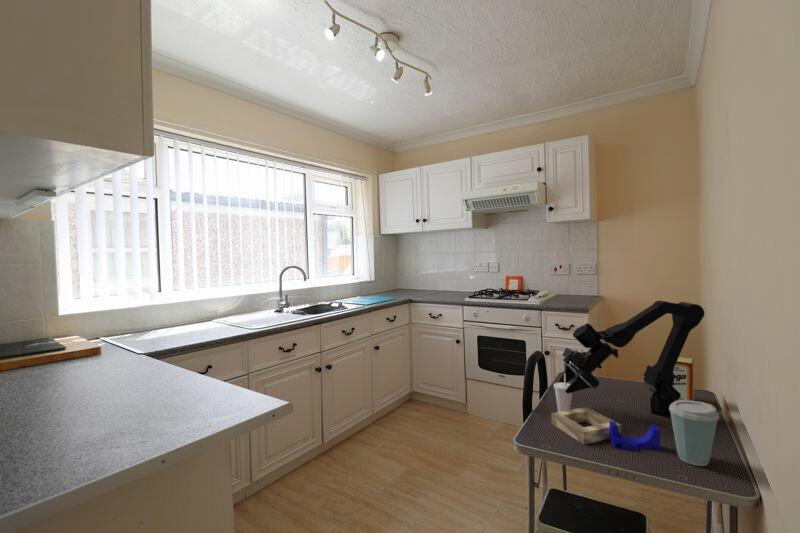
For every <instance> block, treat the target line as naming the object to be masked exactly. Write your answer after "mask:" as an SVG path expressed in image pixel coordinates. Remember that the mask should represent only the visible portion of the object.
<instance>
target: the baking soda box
mask: <svg viewBox="0 0 800 533" xmlns="http://www.w3.org/2000/svg"><path fill="white" fill-rule="evenodd" d="M694 362H695V359H694V358H690V357H689V358H688V357H683V356H682V357H681V356H679V358H678V360H677V362H676V365H675V367H674V369H673V373H674V383H673V387H674V388H675V389H676V390H677V391H678V392H679V393H680V394H681V396H680V399H679V400H676V401H681V400H682V401H695V400H694V397H695V396H694V392H695V386H694V385H695V384H694V383H695V382H694V381H695V380H694V377H695V376H694V375H695V372H694V371H695V370H694V369H695V363H694Z"/></svg>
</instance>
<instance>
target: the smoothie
mask: <svg viewBox="0 0 800 533" xmlns="http://www.w3.org/2000/svg"><path fill="white" fill-rule="evenodd" d="M570 384H571V383H569V382H567V383H566V373H564V383H563V382H559V381H558V382H555V383H553V389H554V392H555V393H554V394H555V399H556V407H557V412H561V411H567V410H571V406H572V396H573V392H572V393H566V392H565V391H566V389H567V388H568V387H569V385H570Z"/></svg>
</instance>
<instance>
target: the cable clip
mask: <svg viewBox="0 0 800 533" xmlns="http://www.w3.org/2000/svg"><path fill="white" fill-rule="evenodd" d="M613 421H614V420H613ZM613 421H610V439H609V441H610V444H611V445H612V448H613V449H618V450H619V449H620V450H629V451H638V449H644V450H653V451H661V430H660V428H659V427H658V425H655V424H650V425H649V429H648V431H647V432H646V433H645V434H644V435H643V436H640V437H636V438H635V437H634V438H633V437H629V436H626V435H624V434H622V432H621V433H620V432H619V430H618V426H617V424H616V421H615V422H613Z"/></svg>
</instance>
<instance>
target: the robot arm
mask: <svg viewBox="0 0 800 533" xmlns="http://www.w3.org/2000/svg"><path fill="white" fill-rule="evenodd" d="M667 314H670V315H671V320H672V327H671V329H670V332H669V334H668V336H667V338H666V341H665V344H664V345H663V347H662V350H661V353H660V355H659V357H658V359H657V362H656V363H655V364H654V365H652V366H651V365H648V364H647V366H646V369H645V372H644V373H643V374H642V376H644V377H643V382H644V384H645V385H646V386H647V387H648V390H649V391H650V392H652V394H651V397H650V403H649V404H650V405H649V406H650V410H651V411H650V413H651V414H652V415H653V414H654V415H658V416H662V417H667V418H671V414H670V410H669V406H670V405H671V404H672V403H673V402H675V401H676V400H679V399H680V396H681V394H680V393H679V392H678V391H677V390H676V389H675V388H674V387H673V383H674V373H673V369H674V367H675V365H676V362H677V360H678V358H679V357H680V355H681V353H682V350H683V349H684V346H685V345H686V344H685V343H686V342H687V339H688V337H689V334H690V332H691V331H692V330H693V329H695V328H696V327H698V325H700V323H701V321H702V320H703V318H704V317H705V310H704V308H703V307H702V306H701V305H700V304H696V303H691V302H686V301H680V302H678V303H675V302H670V301H666V300H656V301H654V303H652V304H651V305H649V306H648V307H647V308H645V309H644V310H642V311H640V312H639V313H637V314H636V315H634V316H632V317H630V318H629V319H627V321H625V322H622V323H617V324H614V325H612V326H609V327H607V328H606V329H605V330H599V331H597V330H596V329H594V327H593V326H592V324H590V323H588V322H587V323H585V324H584V325H581V326H579V327H577V328H576V329H575V330H574V332H572V337H573V338H574V339H575V340H576V341H578V342H579V343H580V344H581V345H582V346H583V347H584V348H585V349H589V350H587V352H586V351H582V352H580V351H578V350H572V349H570V348H569V347H565V349H564V351H563V353H562V354H561V355H562V357H564V359H562V361H563V366H564V370H563V372H562V374H561V376H560V378H559V380H558V382H563V383H564V373H566V383H569V382H570V381H572V382H571V383H569V384H570V385H569V387H568V388H567V389H566V391H565V392H566V393H572V394H573V393H574V392H577V391H581V390H585V389H592V388H593V389H594V390H596V389H597V388H598V387H600V381H599V380H598V379H597V378H596V377H595V376H594V374H593V373H594V372H595V371H596V370H597V369H599V370H600V369H601V368H603V366H602V364H603V363H604V362H606V360H608V358H610V356H613V357H615V358H616V359H618V358H619V353H618V352H619V350H618V349H617V348H619V349H620V348H624V347H626V346H627V345H629V343H630V342H631V341H632V340H633V339H634V337H635V336H636V334H638V332H640V331H642V330H643V329H644V328H646V327H648V326H649V325H651V324H652V323H655V322H656V321H658V319H660V318H662V317H663V316H665V315H667ZM602 341H603V342H602ZM611 345H612V346H613V347H612V346H611ZM616 347H617V348H616Z"/></svg>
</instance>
